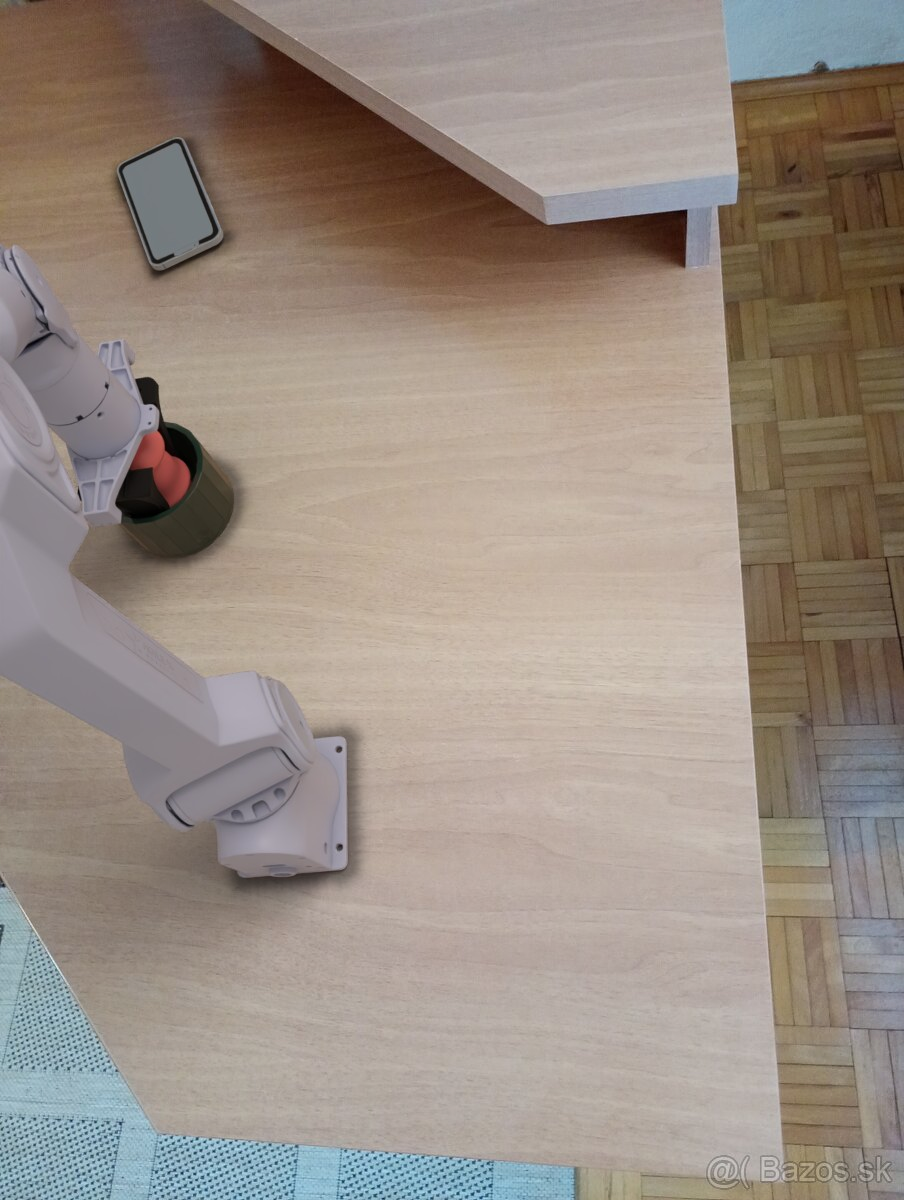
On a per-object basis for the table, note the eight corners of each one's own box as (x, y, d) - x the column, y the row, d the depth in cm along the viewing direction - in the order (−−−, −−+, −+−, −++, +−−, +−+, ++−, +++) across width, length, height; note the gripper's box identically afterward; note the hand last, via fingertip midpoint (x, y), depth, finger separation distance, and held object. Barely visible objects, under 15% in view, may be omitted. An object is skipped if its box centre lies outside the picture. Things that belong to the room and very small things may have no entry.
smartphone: (181, 133, 104) (224, 235, 98) (186, 141, 105) (228, 242, 99) (113, 166, 105) (151, 269, 98) (118, 173, 105) (155, 276, 99)
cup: (232, 550, 86) (200, 515, 80) (128, 564, 88) (89, 531, 82) (236, 453, 90) (205, 413, 84) (136, 468, 91) (99, 430, 85)
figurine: (198, 534, 86) (107, 439, 73) (142, 528, 87) (41, 433, 74) (215, 478, 88) (129, 374, 74) (160, 473, 89) (65, 370, 76)
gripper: (117, 474, 69) (203, 560, 81) (133, 293, 75) (211, 399, 87) (17, 489, 70) (117, 572, 82) (40, 310, 76) (131, 412, 88)
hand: (160, 484), depth 85 cm, fingers closed on figurine, 5 cm apart
